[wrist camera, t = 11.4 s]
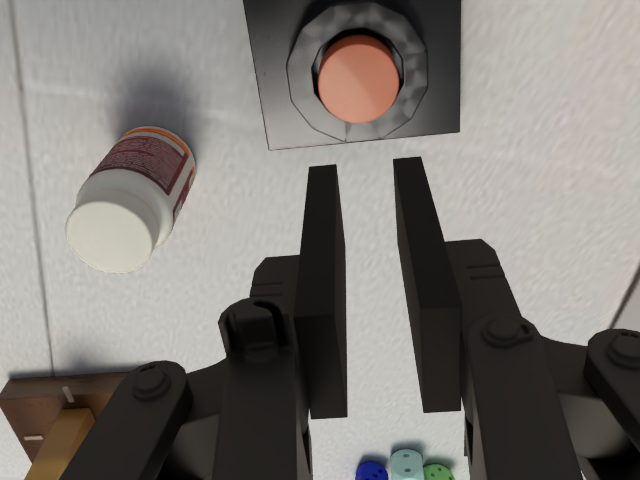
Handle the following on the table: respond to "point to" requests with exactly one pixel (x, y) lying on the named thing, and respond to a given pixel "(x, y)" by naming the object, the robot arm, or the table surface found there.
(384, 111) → the bell button
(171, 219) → the pill bottle
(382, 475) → the dice
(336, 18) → the button box
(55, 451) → the thumb turn
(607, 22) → the table surface
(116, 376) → the lock plate
